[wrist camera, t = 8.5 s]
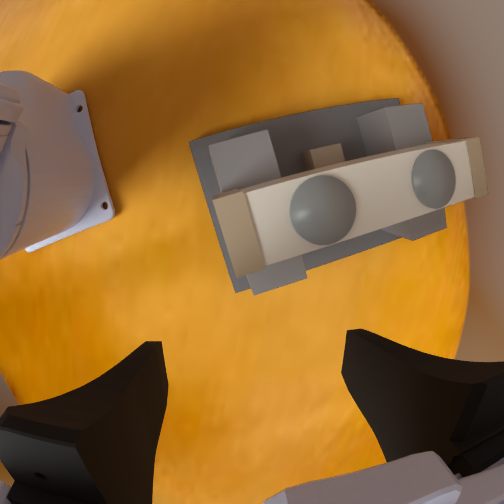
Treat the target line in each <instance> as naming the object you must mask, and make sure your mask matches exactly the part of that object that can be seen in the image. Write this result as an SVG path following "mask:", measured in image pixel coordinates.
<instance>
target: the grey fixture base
mask: <svg viewBox="0 0 504 504" xmlns="http://www.w3.org/2000/svg"><path fill="white" fill-rule="evenodd" d="M426 142H432V137H431V133H430V129H429V125H428V121H427V117H426V114H425V110H424V107H423V103H419V104H410V105H401V106H400V103H399V99H398V98H393V99H385V100H376V101H369V102H361V103H355V104H348V105H342V106H336V107H330V108H324V109H319V110H313V111H308V112H303V113H298V114H293V115H289V116H284V117H279V118H275V119H271V120H266V121H262V122H258V123H254V124H250V125H246V126H242V127H238V128H235V129H231V130H227V131H224V132H220V133H217V134H213V135H210V136H206V137H203V138H200V139H196V140H193V141H190V142H189V144H190V148H191V151H192V155H193V158H194V161H195V165H196V168H197V172H198V175H199V178H200V182H201V185H202V188H203V192H204V195H205V198H206V201H207V205H208V208H209V211H210V215H211V218H212V221H213V224H214V227H215V231H216V234H217V237H218V240H219V243H220V247H221V250H222V253H223V256H224V259H225V262H226V265H227V269H228V272H229V275H230V278H231V281H232V284H233V287H234V290H235V293H237V292H241V291H244V290H247V289H250V288H251V289H252V292H253V295H257V294H260V293H263V292H266V291H269V290H273V289H276V288H279V287H282V286H285V285H288V284H291V283H294V282H297V281H300V280H303V279H306V278H307V275H306V270H309V269H312V268H315V267H318V266H321V265H324V264H327V263H330V262H333V261H336V260H339V259H342V258H345V257H348V256H351V255H354V254H356V253H359V252H362V251H365V250H368V249H371V248H374V247H376V246H379V245H382V244H385V243H388V242H391V241H393V240H396V239H399V238H402V237H403V238H406V239H409V240H412V241H413V240H416V239H419V238H421V237H424V236H426V235H429V234H432V233H434V232H437V231H439V230H442V229H445V228H447V225H446V217H445V209H444V208H441V209H438V210H435V211H432V212H429V213H426V214H424V215H421V216H418V217H415V218H412V219H409V220H406V221H403V222H400V223H397V224H394V225H391V226H388V227H385V228H382V229H379V230H376V231H373V232H370V233H367V234H364V235H361V236H357V237H354V238H351V239H348V240H345V241H342V242H339V243H336V244H333V245H330V246H327V247H324V248H321V249H317V250H314V251H311V252H308V253H305V254H302V255H299V256H296V257H292V258H289V259H286V260H283V261H280V262H277V263H273V264H270V265H267V266H265V270H262V271H259V272H255V273H252V274H249V275H246V276H242V277H239V278H236V275H235V272H234V269H233V266H232V262H231V259H230V256H229V253H228V249H227V246H226V243H225V240H224V237H223V233H222V230H221V227H220V224H219V220H218V217H217V214H216V210H215V207H214V204H213V200H212V196H213V195H216V194H219V193H222V192H226V191H229V190H233V189H238V190H240V189H243V188H247V187H250V186H254V185H257V184H261V183H264V182H268V181H271V180H275V179H279V178H282V177H286V176H290V175H294V174H297V173H301V172H305V171H309V170H313V169H317V168H321V167H325V166H329V165H333V164H337V163H341V162H345V161H350V160H354V159H358V158H363V157H367V156H372V155H376V154H381V153H385V152H390V151H395V150H400V149H404V148H409V147H414V146H420V145H425V144H427V143H426Z"/></svg>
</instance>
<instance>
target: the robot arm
mask: <svg viewBox="0 0 504 504" xmlns="http://www.w3.org/2000/svg"><path fill="white" fill-rule="evenodd" d="M81 106H82V107H83V109H82V111H81V112H78V109H79V108H80V107H81ZM104 202H106V203H107V204H108V208H107V209H104V208H103V203H104ZM114 216H115V209H114V206H113V203H112V199H111V196H110V193H109V190H108V186H107V183H106V179H105V176H104V172H103V169H102V165H101V161H100V158H99V154H98V150H97V146H96V142H95V138H94V134H93V130H92V125H91V121H90V116H89V112H88V107H87V102H86V97H85V94H84V92H83V91H81V90H76V91H74V92H72V93H69V94H67V93H66V92H64V91H62V90H60V89H59V88H57V87H55V86H53V85H51V84H50V83H48V82H46V81H44V80H42V79H41V78H39V77H37V76H35V75H33V74H31V73H29V72H25V71H4V72H0V260H1V259H3V258H5V257H7V256H9V255H11V254H14V253H16V252H18V251H20V250H22V249H25V250H26V251H27V252H32V251H35V250H37V249H39V248H42V247H44V246H46V245H49V244H51V243H53V242H56V241H58V240H61V239H63V238H65V237H68V236H70V235H73V234H75V233H78V232H80V231H83V230H85V229H88V228H90V227H93V226H95V225H98V224H101V223H103V222H106V221H109V220H111V219H112V218H113V217H114ZM341 373H342V376H343V378H344V381H345V383H346V386H347V388H348V390H349V392H350V394H351V396H352V397H353V399H354V401H355V402H356V404H357V406H358V407H359V409H360V410H361V412H362V414H363V415H364V417H365V418H366V420H367V422H368V423H369V425H370V427H371V428H372V430H373V432H374V434H375V436H376V438H377V440H378V442H379V444H380V447H381V449H382V451H383V454H384V456H385V459H386V461H387V463H384V464H381V465H378V466H374V467H371V468H367V469H363V470H360V471H356V472H352V473H348V474H343V475H339V476H334V477H330V478H325V479H320V480H315V481H310V482H306V483H303V484H300V485H296V486H293V487H289V488H286V489H284V490H282V491H280V492H279V493H277V494H275V495H274V496H272V497H270V498H268V499H267V500H266V501H264V502H263V504H504V362H470V361H460V360H454V359H448V358H443V357H439V356H434V355H430V354H427V353H423V352H420V351H417V350H415V349H412V348H409V347H406V346H404V345H401V344H399V343H396V342H394V341H391V340H389V339H387V338H384V337H382V336H380V335H377V334H375V333H372V332H370V331H367V330H364V329H354V330H347V334H346V343H345V350H344V358H343V365H342V371H341ZM167 396H168V379H167V374H166V368H165V361H164V355H163V348H162V341H146V342H144V343H143V344H142V345H140V346H139V347H138V348H137V349H136V350H134V351H133V352H132V353H131V354H130V355H128V356H127V357H126V358H125V359H123V360H122V361H121V362H120V363H118V364H117V365H115V366H114V367H113V368H111V369H110V370H108V371H107V372H106V373H104V374H103V375H101V376H100V377H98V378H96V379H95V380H93V381H91V382H89V383H87V384H85V385H84V386H81V387H79V388H77V389H75V390H72V391H70V392H67V393H65V394H63V395H60V396H57V397H54V398H51V399H47V400H44V401H40V402H35V403H30V404H24V405H18V406H11V407H8V408H7V409H6V410H5V412H4V413H3V414H2V416H1V417H0V460H1V462H2V463H3V465H4V466H5V468H6V469H7V470H8V472H9V473H10V475H11V476H12V477H13V479H14V480H15V481H14V483H13V485H12V487H10V486H9V485H7V484H6V483H5V482H3V481H1V480H0V504H152V493H153V475H154V463H155V454H156V449H157V444H158V440H159V436H160V431H161V427H162V423H163V419H164V415H165V410H166V406H167Z"/></svg>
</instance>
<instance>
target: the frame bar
mask: <svg viewBox="0 0 504 504" xmlns="http://www.w3.org/2000/svg"><path fill="white" fill-rule="evenodd" d="M426 143H427V144H425V145H420V146H414V147H409V148H404V149H400V150H395V151H390V152H385V153H381V154H376V155H372V156H367V157H363V158H358V159H354V160H350V161H345V162H341V163H337V164H333V165H329V166H325V167H321V168H317V169H313V170H309V171H305V172H301V173H297V174H294V175H290V176H286V177H282V178H279V179H275V180H271V181H268V182H264V183H261V184H257V185H254V186H250V187H247V188H243V189H240V190H238V189H233V190H229V191H226V192H222V193H219V194H216V195H213V196H212V200H213V204H214V207H215V210H216V214H217V217H218V220H219V224H220V227H221V230H222V233H223V237H224V240H225V243H226V246H227V249H228V253H229V256H230V259H231V262H232V266H233V269H234V272H235V275H236V278H239V277H242V276H246V275H249V274H252V273H255V272H259V271H262V270H265V266H267V265H270V264H273V263H277V262H280V261H283V260H286V259H289V258H292V257H296V256H299V255H302V254H305V253H308V252H311V251H314V250H317V249H321V248H324V247H327V246H330V245H333V244H336V243H339V242H342V241H345V240H348V239H351V238H354V237H357V236H361V235H364V234H367V233H370V232H373V231H376V230H379V229H382V228H385V227H388V226H391V225H394V224H397V223H400V222H403V221H406V220H409V219H412V218H415V217H418V216H421V215H424V214H426V213H429V212H432V211H435V210H438V209H441V208H444V207H447V206H450V205H453V204H456V203H459V202H461V201H464V200H467V199H470V198H473V199H477V198H480V197H483V196H486V195H488V188H487V180H486V173H485V166H484V160H483V154H482V149H481V144H480V139H479V137H470V138H457V139H446V140H437V141H432V142H426Z"/></svg>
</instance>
